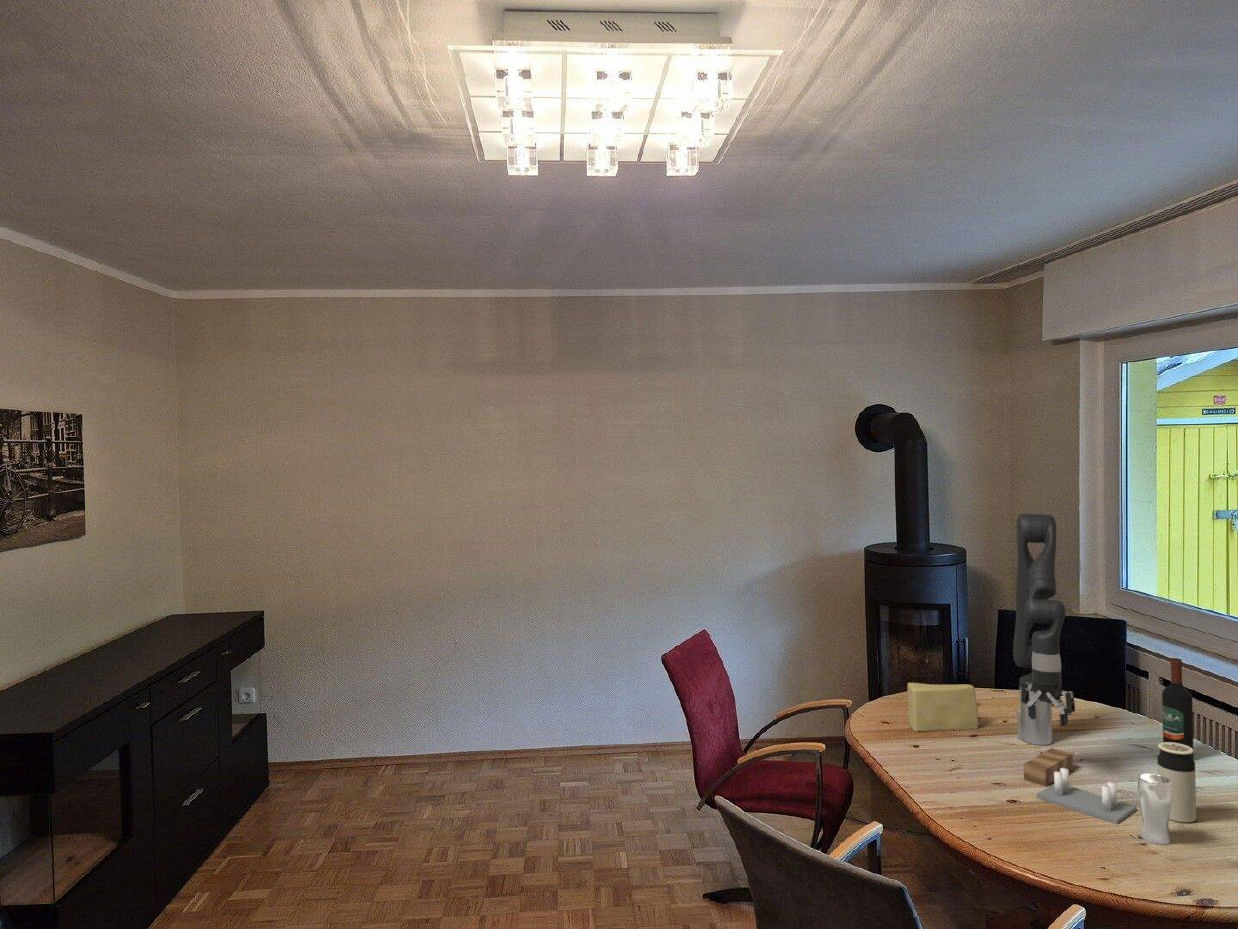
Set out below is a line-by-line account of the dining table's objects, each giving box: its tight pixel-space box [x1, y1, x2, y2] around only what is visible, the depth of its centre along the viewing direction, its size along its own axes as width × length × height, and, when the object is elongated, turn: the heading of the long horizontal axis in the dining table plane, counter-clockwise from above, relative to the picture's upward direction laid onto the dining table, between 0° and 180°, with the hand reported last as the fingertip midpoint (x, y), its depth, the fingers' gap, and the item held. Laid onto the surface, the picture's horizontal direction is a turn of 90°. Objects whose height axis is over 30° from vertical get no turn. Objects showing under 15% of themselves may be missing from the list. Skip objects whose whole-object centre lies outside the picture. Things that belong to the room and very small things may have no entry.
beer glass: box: [1137, 772, 1172, 846], centre depth 191 cm, size 7×7×15 cm
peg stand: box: [1036, 768, 1137, 825], centre depth 211 cm, size 20×12×7 cm, turn 36°
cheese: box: [907, 682, 979, 733], centre depth 270 cm, size 22×10×15 cm, turn 82°
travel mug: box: [1156, 741, 1197, 823], centre depth 202 cm, size 8×8×18 cm
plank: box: [1023, 747, 1074, 788], centre depth 230 cm, size 18×6×5 cm, turn 127°
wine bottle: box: [1161, 657, 1195, 758], centre depth 239 cm, size 8×8×30 cm
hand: (1048, 722), depth 230 cm, fingers open, 8 cm apart
